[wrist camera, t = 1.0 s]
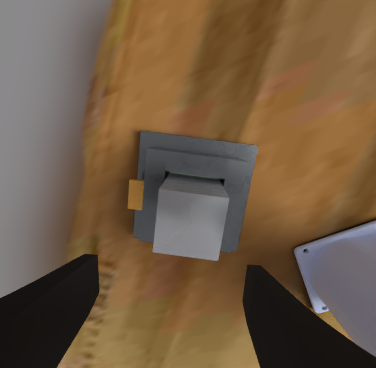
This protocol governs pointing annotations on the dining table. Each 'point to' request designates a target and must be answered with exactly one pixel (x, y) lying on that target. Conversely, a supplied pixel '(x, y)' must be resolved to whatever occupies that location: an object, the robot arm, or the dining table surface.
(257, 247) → the dining table surface
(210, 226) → the post
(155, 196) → the stand base
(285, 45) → the dining table surface
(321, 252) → the robot arm
